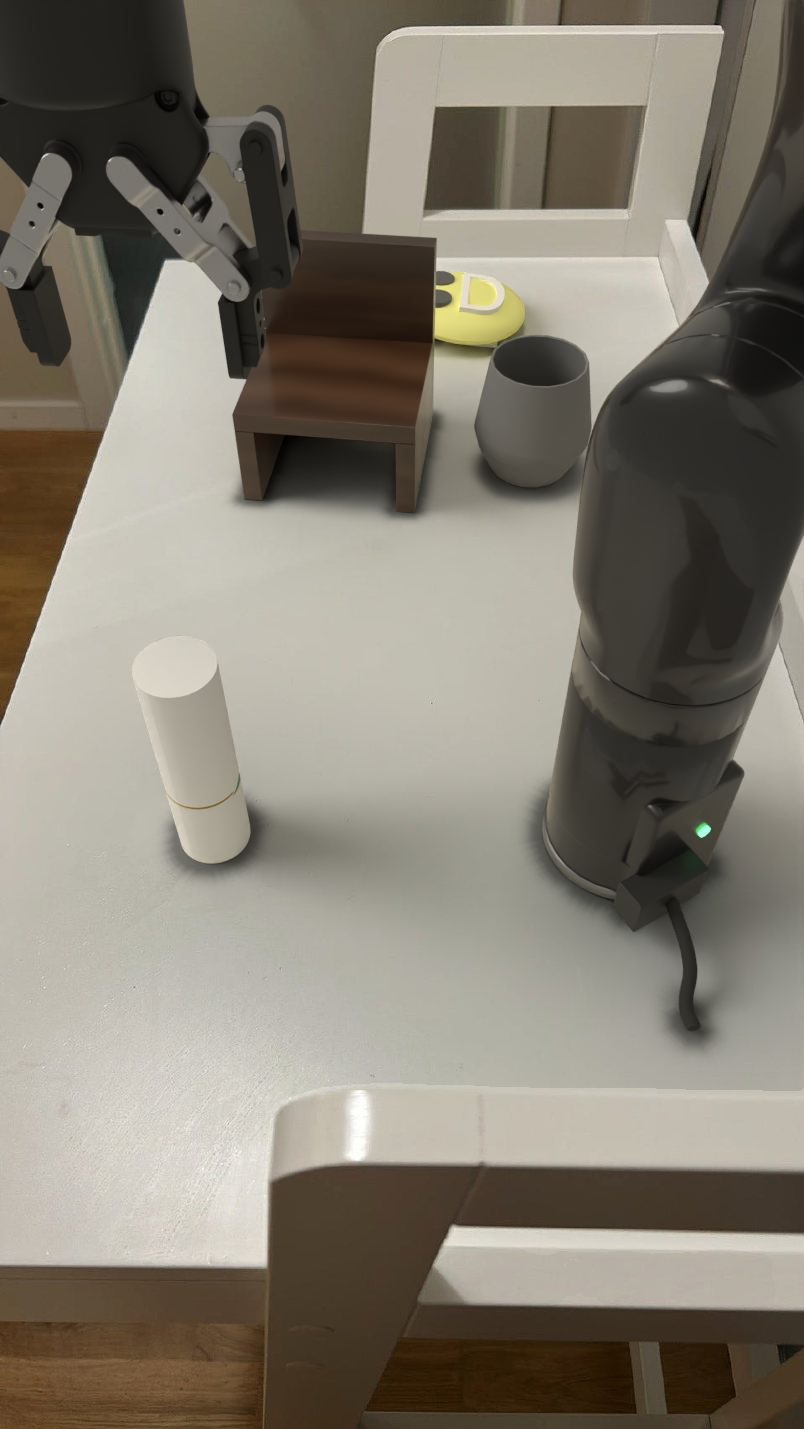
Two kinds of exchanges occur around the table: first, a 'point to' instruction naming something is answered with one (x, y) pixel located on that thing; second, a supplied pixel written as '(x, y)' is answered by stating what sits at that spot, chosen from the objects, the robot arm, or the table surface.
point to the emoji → (475, 309)
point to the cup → (534, 409)
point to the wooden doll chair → (345, 355)
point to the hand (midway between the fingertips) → (150, 363)
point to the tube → (193, 745)
